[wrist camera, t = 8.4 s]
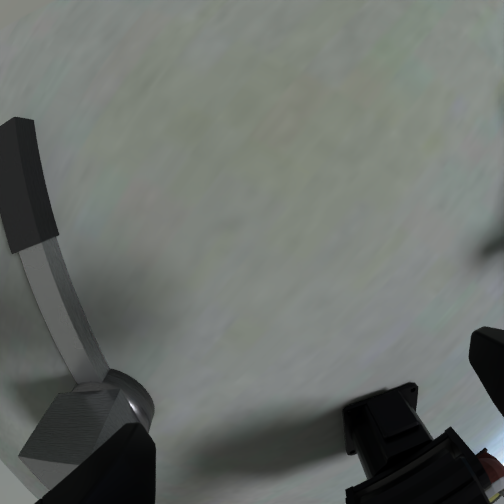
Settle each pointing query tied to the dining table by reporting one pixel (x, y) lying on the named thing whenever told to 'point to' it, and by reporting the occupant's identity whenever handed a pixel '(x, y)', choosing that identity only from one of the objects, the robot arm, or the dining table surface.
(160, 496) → the dining table surface
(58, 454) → the grey bevelled cube
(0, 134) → the ratchet
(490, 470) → the mate gourd
